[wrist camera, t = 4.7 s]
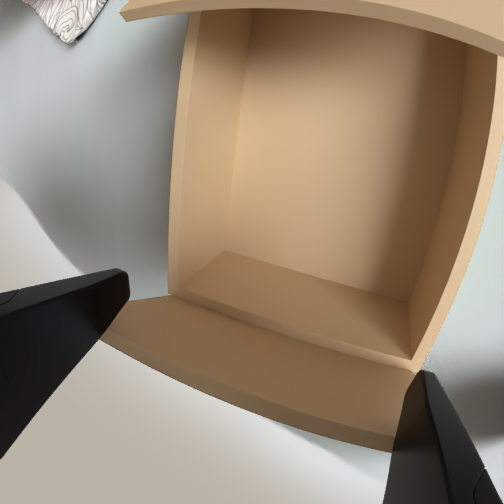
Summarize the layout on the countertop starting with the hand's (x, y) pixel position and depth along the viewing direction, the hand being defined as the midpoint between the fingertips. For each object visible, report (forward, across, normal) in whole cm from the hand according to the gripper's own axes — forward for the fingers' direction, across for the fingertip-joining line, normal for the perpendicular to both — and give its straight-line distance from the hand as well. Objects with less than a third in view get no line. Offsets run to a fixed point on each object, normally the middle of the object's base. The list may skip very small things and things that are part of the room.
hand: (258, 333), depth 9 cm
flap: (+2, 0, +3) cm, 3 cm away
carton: (+11, 0, -5) cm, 12 cm away
